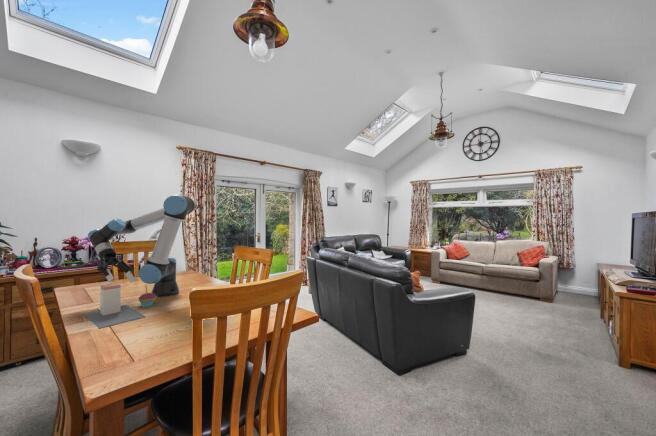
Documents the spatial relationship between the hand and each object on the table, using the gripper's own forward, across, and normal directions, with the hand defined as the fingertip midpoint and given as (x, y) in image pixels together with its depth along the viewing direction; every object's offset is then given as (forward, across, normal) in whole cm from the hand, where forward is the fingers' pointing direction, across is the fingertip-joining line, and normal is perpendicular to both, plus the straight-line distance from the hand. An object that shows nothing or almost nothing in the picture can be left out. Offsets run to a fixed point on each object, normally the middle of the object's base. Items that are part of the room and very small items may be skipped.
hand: (122, 280), depth 148 cm
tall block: (+14, +6, -9) cm, 17 cm away
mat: (+18, +9, -6) cm, 21 cm away
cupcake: (+18, -7, 0) cm, 20 cm away
